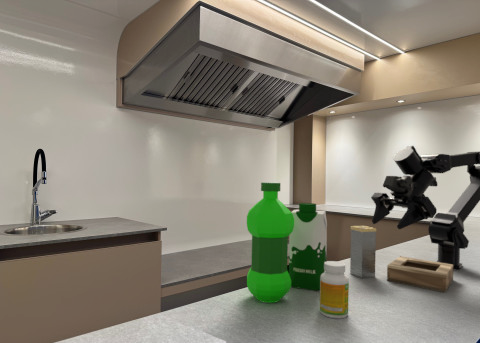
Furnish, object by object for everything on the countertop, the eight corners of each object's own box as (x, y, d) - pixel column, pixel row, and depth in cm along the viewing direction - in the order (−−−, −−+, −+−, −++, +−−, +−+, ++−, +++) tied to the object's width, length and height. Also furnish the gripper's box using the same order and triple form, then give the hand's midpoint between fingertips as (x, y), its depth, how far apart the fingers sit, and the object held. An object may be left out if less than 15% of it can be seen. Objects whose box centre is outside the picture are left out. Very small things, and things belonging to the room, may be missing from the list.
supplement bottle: (349, 320, 62) (350, 268, 63) (319, 317, 64) (321, 266, 64) (346, 309, 68) (347, 261, 68) (319, 306, 69) (320, 259, 69)
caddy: (400, 270, 97) (400, 256, 97) (452, 279, 89) (453, 264, 89) (387, 280, 87) (387, 265, 87) (445, 292, 79) (445, 275, 79)
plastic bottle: (300, 296, 74) (302, 183, 74) (275, 311, 66) (278, 183, 66) (262, 286, 80) (264, 181, 80) (235, 299, 72) (237, 182, 72)
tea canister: (363, 271, 94) (364, 225, 95) (375, 276, 90) (376, 228, 90) (349, 273, 93) (350, 226, 93) (361, 278, 88) (362, 228, 88)
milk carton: (285, 288, 80) (287, 203, 80) (292, 277, 88) (294, 200, 88) (323, 293, 77) (325, 205, 77) (327, 281, 85) (328, 202, 86)
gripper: (376, 166, 105) (346, 202, 101) (429, 165, 88) (396, 209, 83) (395, 192, 108) (367, 227, 104) (450, 196, 90) (419, 239, 86)
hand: (385, 225), depth 94 cm, fingers open, 9 cm apart
